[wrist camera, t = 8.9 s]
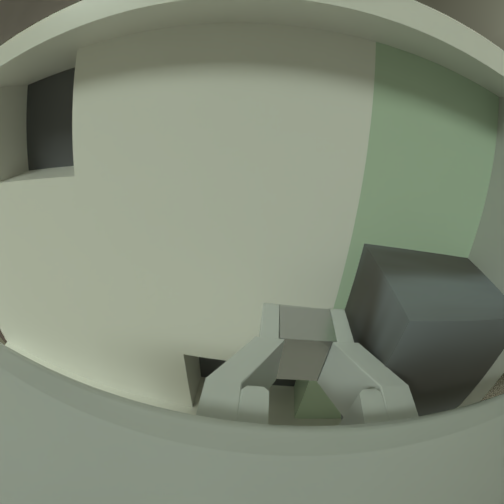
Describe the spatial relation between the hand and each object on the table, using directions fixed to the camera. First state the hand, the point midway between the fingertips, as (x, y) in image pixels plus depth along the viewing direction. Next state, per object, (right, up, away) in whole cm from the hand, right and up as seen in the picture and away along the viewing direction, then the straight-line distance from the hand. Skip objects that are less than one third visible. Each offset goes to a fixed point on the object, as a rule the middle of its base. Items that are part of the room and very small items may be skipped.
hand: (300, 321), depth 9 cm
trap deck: (-6, +3, +4) cm, 8 cm away
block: (+4, 0, +1) cm, 5 cm away
